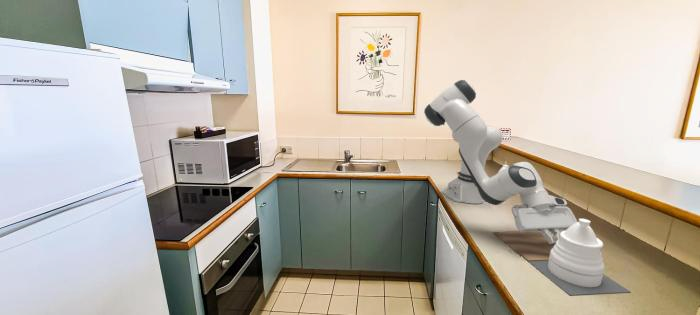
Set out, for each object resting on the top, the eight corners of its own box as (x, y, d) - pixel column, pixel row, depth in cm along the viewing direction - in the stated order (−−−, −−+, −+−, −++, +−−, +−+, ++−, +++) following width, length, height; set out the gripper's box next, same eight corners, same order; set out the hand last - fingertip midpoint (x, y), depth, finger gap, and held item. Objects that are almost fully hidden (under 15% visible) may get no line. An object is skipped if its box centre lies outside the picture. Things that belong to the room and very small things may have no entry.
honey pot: (604, 293, 77) (618, 232, 74) (547, 276, 84) (557, 220, 81) (597, 270, 88) (609, 215, 84) (547, 257, 95) (556, 206, 91)
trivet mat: (528, 262, 92) (528, 261, 92) (580, 259, 94) (580, 259, 94) (569, 295, 77) (569, 295, 77) (630, 292, 78) (630, 291, 78)
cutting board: (493, 233, 112) (493, 231, 112) (536, 231, 113) (536, 230, 113) (528, 262, 92) (528, 260, 92) (580, 259, 94) (580, 258, 94)
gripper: (514, 201, 97) (531, 242, 90) (570, 199, 99) (590, 239, 92) (505, 208, 103) (519, 247, 95) (557, 206, 105) (576, 244, 97)
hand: (555, 243), depth 94 cm, fingers closed
